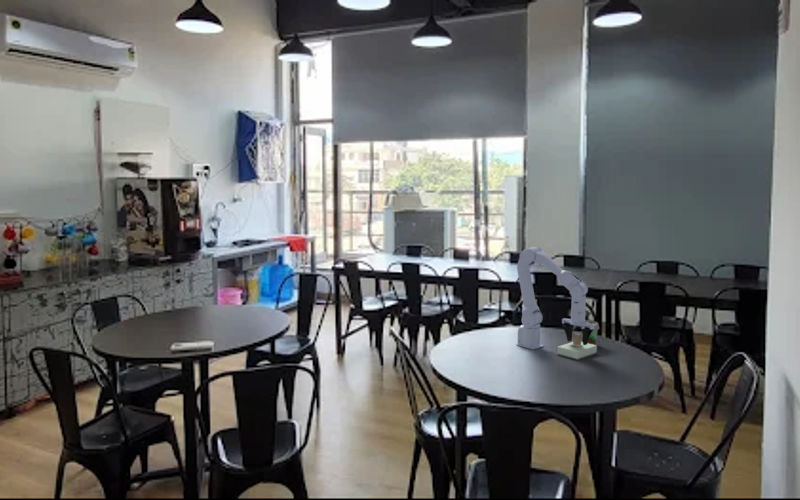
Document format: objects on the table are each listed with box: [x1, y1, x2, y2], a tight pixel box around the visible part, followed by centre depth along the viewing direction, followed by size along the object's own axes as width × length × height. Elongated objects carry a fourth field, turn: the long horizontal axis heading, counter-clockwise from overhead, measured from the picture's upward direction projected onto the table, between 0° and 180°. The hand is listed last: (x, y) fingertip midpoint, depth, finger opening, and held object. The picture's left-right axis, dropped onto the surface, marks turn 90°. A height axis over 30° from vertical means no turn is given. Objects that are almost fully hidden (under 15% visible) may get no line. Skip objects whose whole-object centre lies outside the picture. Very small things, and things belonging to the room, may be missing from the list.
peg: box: [572, 333, 582, 348], centre depth 268 cm, size 3×3×8 cm
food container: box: [581, 319, 600, 345], centre depth 282 cm, size 12×6×10 cm, turn 179°
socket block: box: [556, 341, 598, 361], centre depth 268 cm, size 10×14×4 cm
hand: (577, 342), depth 268 cm, fingers open, 7 cm apart
